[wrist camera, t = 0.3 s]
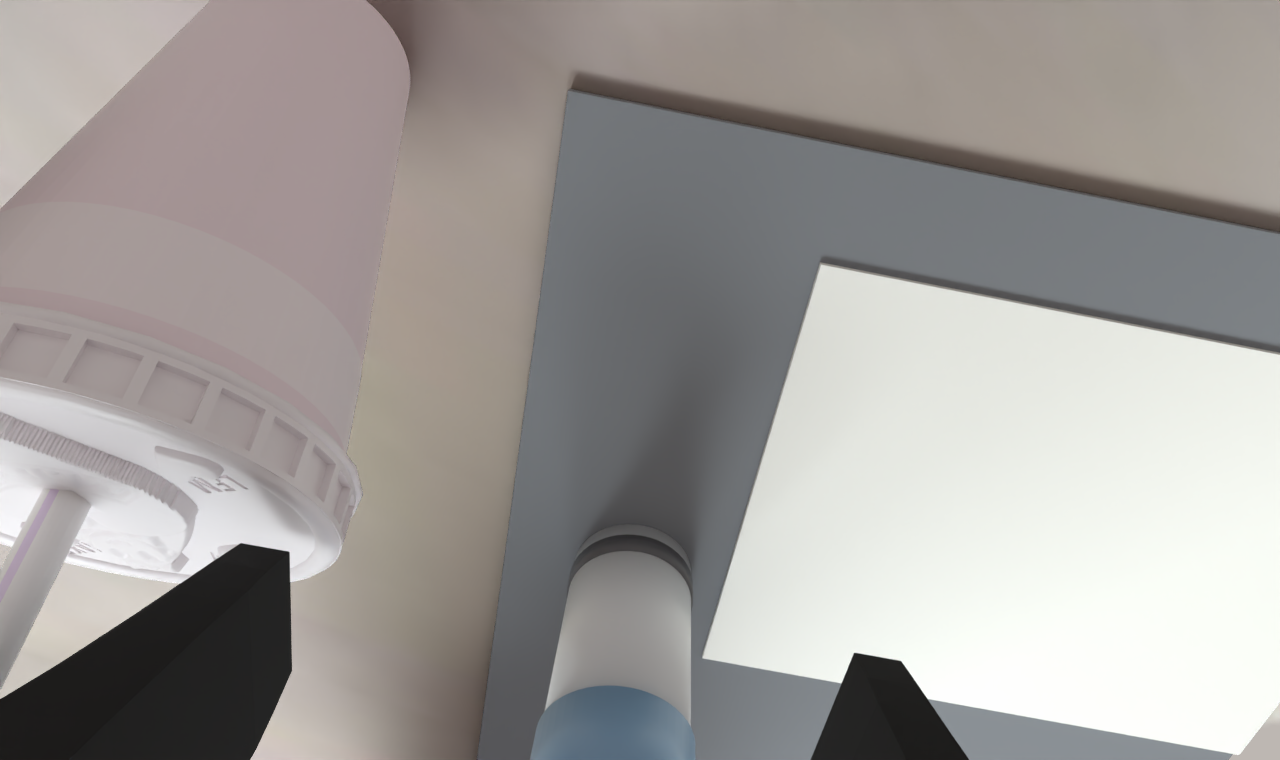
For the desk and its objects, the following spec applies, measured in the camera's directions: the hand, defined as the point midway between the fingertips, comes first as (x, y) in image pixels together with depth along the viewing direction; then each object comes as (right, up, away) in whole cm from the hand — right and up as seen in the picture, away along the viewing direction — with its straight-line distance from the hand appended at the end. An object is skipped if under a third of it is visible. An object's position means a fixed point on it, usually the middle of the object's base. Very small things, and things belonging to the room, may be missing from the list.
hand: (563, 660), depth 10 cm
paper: (+12, -1, +10) cm, 16 cm away
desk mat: (+8, -2, +12) cm, 15 cm away
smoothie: (-5, +10, +6) cm, 13 cm away
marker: (+1, -2, +12) cm, 12 cm away
